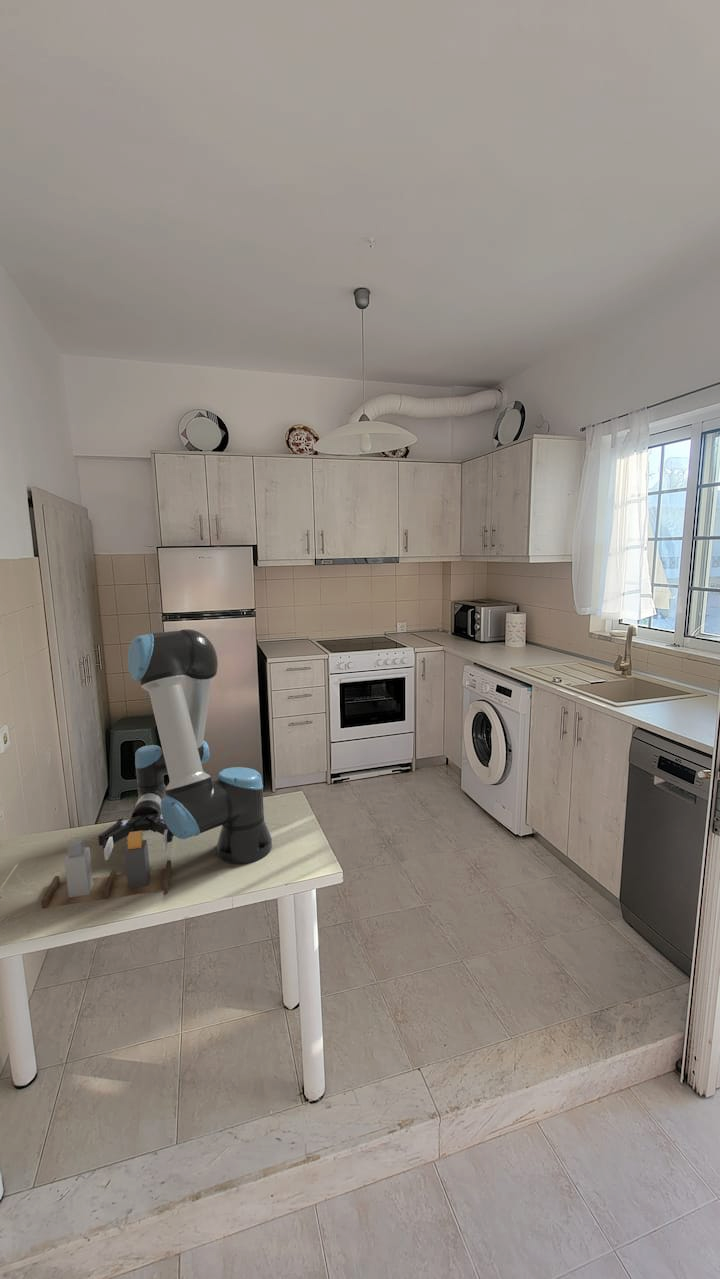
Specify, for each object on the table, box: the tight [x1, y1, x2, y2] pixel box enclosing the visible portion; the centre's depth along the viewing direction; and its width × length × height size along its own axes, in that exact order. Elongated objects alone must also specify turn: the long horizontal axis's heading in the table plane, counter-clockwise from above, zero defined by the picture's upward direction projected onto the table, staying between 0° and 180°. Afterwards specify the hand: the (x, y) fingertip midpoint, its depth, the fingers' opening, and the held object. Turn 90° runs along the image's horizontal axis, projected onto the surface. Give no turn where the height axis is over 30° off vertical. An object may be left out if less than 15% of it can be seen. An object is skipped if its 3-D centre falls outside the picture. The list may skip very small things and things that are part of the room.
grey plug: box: [63, 837, 94, 898], centre depth 135 cm, size 4×4×13 cm
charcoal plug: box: [124, 831, 151, 889], centre depth 138 cm, size 4×4×13 cm
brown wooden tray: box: [41, 859, 173, 909], centre depth 137 cm, size 28×10×3 cm, turn 103°
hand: (135, 850), depth 137 cm, fingers open, 13 cm apart
